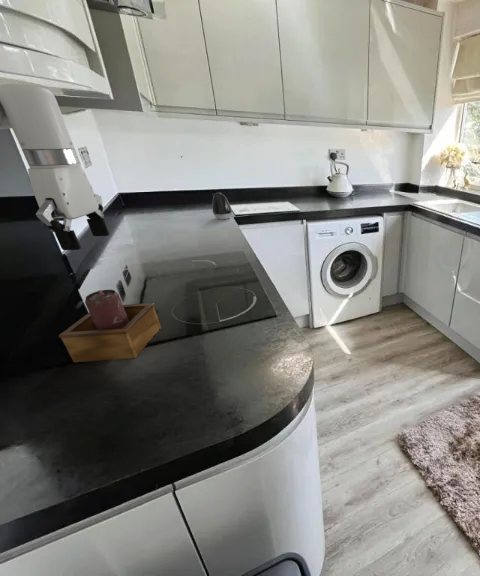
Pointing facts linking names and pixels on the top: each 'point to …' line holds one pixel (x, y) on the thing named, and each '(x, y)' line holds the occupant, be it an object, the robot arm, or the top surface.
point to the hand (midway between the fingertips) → (87, 242)
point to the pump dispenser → (221, 206)
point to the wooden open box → (112, 336)
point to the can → (106, 310)
